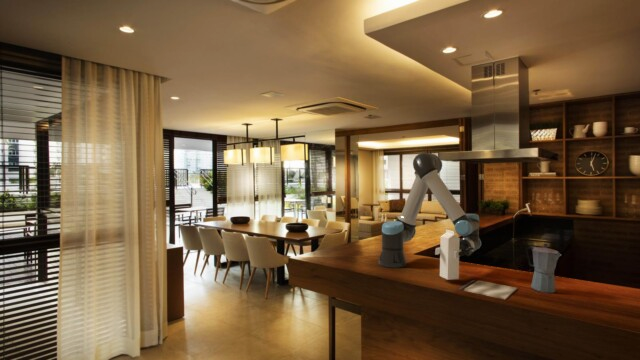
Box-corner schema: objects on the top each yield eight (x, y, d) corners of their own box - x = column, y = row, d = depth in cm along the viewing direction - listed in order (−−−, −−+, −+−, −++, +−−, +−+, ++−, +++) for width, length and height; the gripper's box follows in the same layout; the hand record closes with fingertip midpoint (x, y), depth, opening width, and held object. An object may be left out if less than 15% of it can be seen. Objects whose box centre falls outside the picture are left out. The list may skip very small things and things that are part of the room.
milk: (447, 280, 158) (448, 231, 158) (439, 276, 164) (440, 229, 164) (459, 279, 160) (459, 231, 160) (450, 275, 166) (451, 229, 165)
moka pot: (554, 296, 142) (554, 247, 142) (517, 286, 155) (518, 241, 155) (567, 293, 146) (568, 245, 146) (530, 283, 160) (531, 239, 160)
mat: (457, 289, 150) (457, 287, 150) (472, 280, 163) (472, 279, 163) (505, 299, 138) (505, 298, 138) (517, 289, 151) (517, 287, 151)
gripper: (485, 257, 168) (468, 265, 151) (443, 250, 182) (423, 257, 165) (486, 241, 168) (469, 248, 151) (443, 236, 182) (423, 241, 165)
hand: (445, 253), depth 158 cm, fingers closed on milk, 8 cm apart
